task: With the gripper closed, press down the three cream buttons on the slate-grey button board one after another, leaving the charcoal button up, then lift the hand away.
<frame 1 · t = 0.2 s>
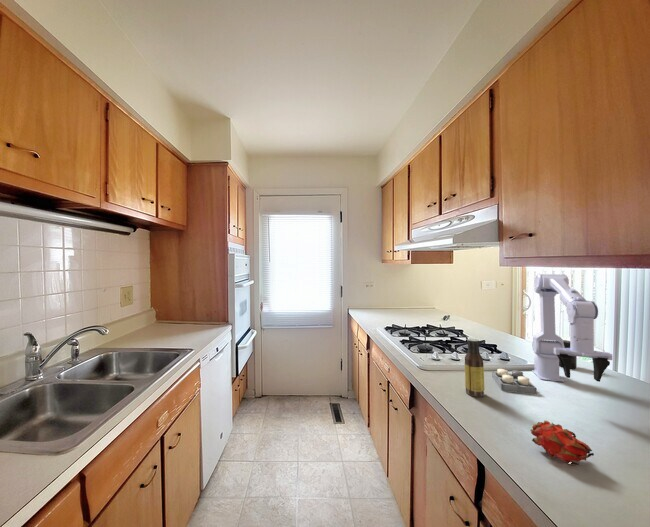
hand: (581, 378, 91), 10 cm above the countertop, tool pointing down, fingers open, 7 cm apart
button back right: (502, 372, 112), point 3 cm above the countertop, slide at 0.0 cm
sauce bottle: (474, 394, 101), on the countertop
button board: (512, 385, 109), on the countertop
dragon fruit: (560, 457, 68), on the countertop
supplement bottle: (566, 367, 128), on the countertop
button front right: (507, 379, 106), point 3 cm above the countertop, slide at 0.0 cm
button front left: (523, 380, 105), point 3 cm above the countertop, slide at 0.0 cm
button back left charcoal: (517, 374, 111), point 3 cm above the countertop, slide at 0.0 cm
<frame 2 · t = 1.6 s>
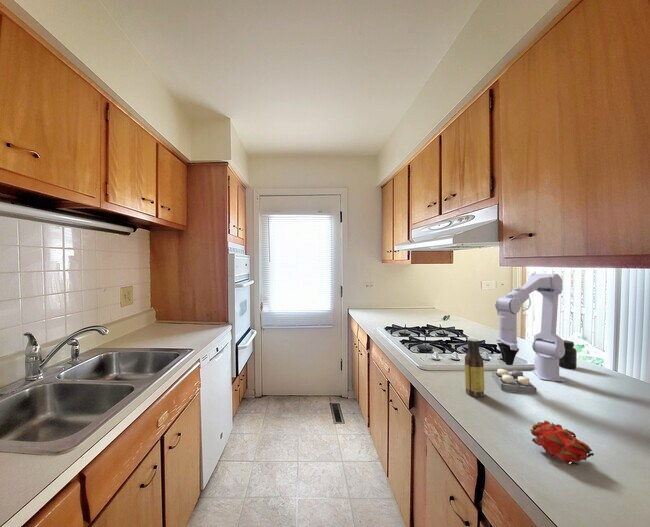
hand: (507, 363, 106), 9 cm above the countertop, tool pointing down, fingers closed
nothing on the countertop moved.
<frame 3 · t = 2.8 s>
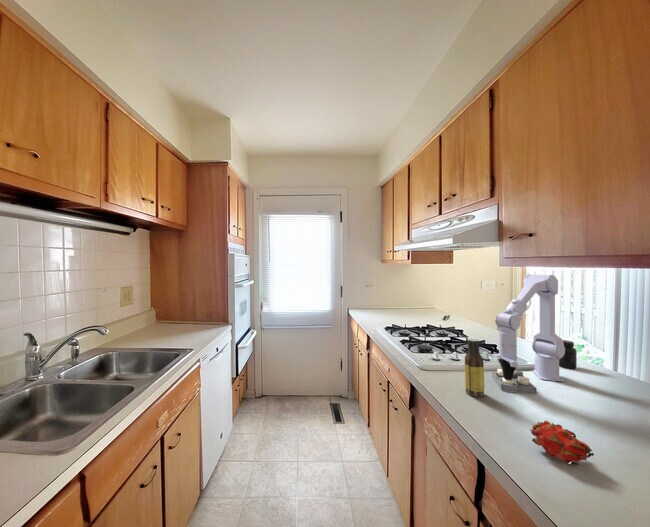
hand: (507, 379, 106), 3 cm above the countertop, tool pointing down, fingers closed, pressing on button front right
button front right: (507, 381, 106), point 2 cm above the countertop, slide at 1.1 cm, touching gripper
everything else where it was.
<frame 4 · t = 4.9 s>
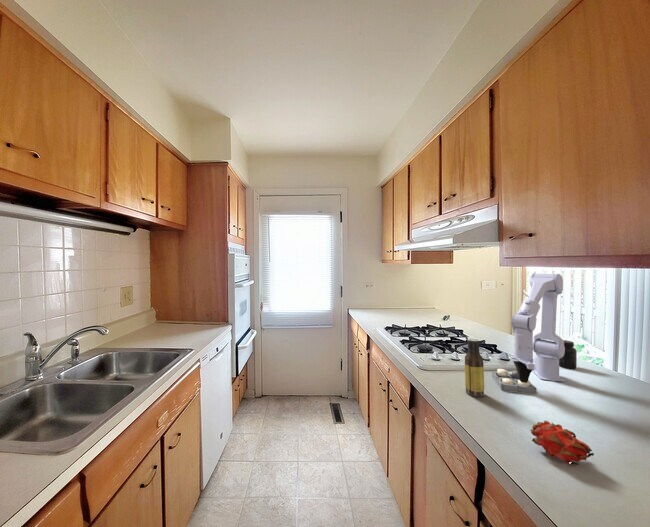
hand: (523, 381, 105), 3 cm above the countertop, tool pointing down, fingers closed, pressing on button front left
button front right: (507, 382, 106), point 2 cm above the countertop, slide at 1.3 cm
button front left: (523, 384, 105), point 2 cm above the countertop, slide at 1.3 cm, touching gripper
everything else where it was.
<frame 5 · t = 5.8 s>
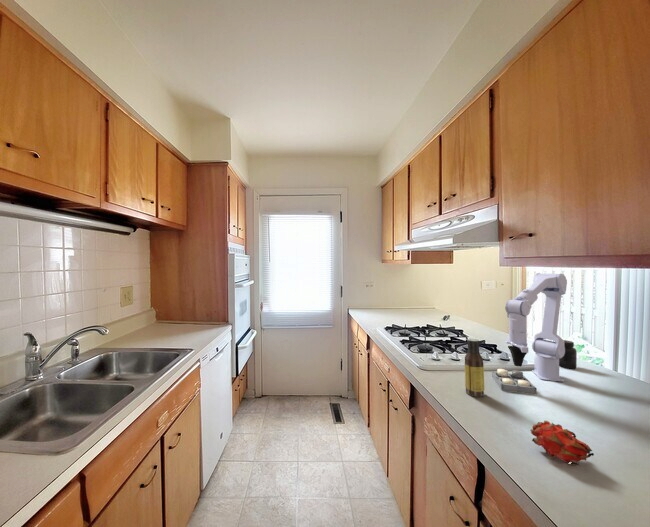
hand: (517, 365, 107), 8 cm above the countertop, tool pointing down, fingers closed
button front left: (523, 384, 105), point 2 cm above the countertop, slide at 1.3 cm
everything else where it was.
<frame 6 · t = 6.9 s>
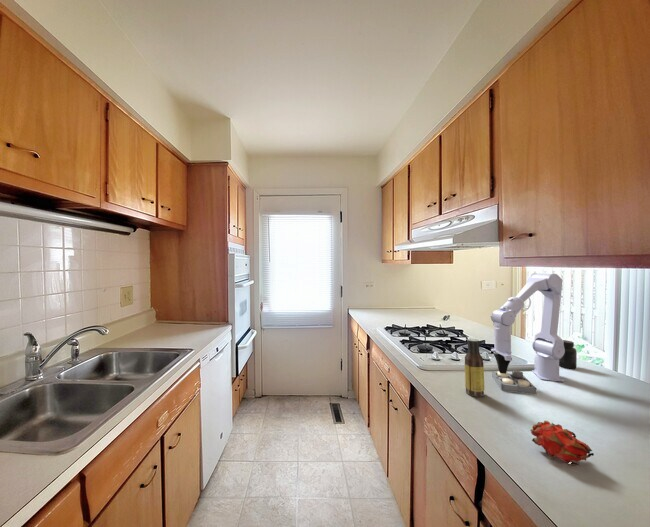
hand: (502, 372, 112), 3 cm above the countertop, tool pointing down, fingers closed, pressing on button back right
button back right: (502, 375, 112), point 2 cm above the countertop, slide at 0.9 cm, touching gripper
everything else where it was.
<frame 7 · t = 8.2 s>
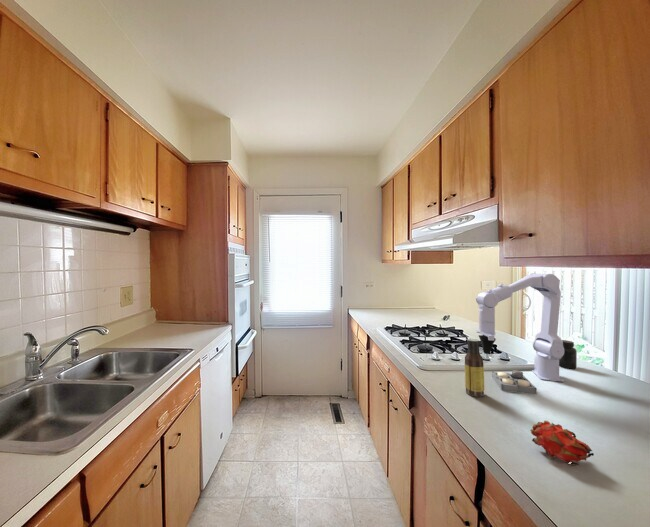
hand: (486, 353, 115), 10 cm above the countertop, tool pointing down, fingers closed
button back right: (502, 376, 112), point 2 cm above the countertop, slide at 1.3 cm
everything else where it was.
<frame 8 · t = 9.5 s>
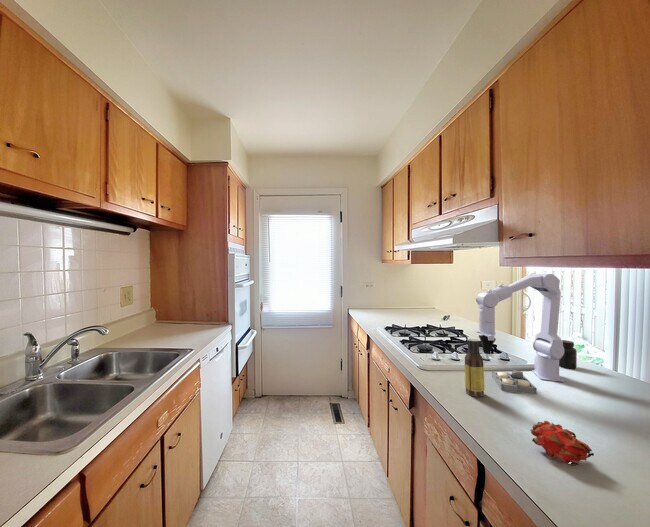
hand: (486, 353, 115), 10 cm above the countertop, tool pointing down, fingers closed
nothing on the countertop moved.
at the end: button front right slide at 1.3 cm; button front left slide at 1.3 cm; button back right slide at 1.3 cm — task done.
